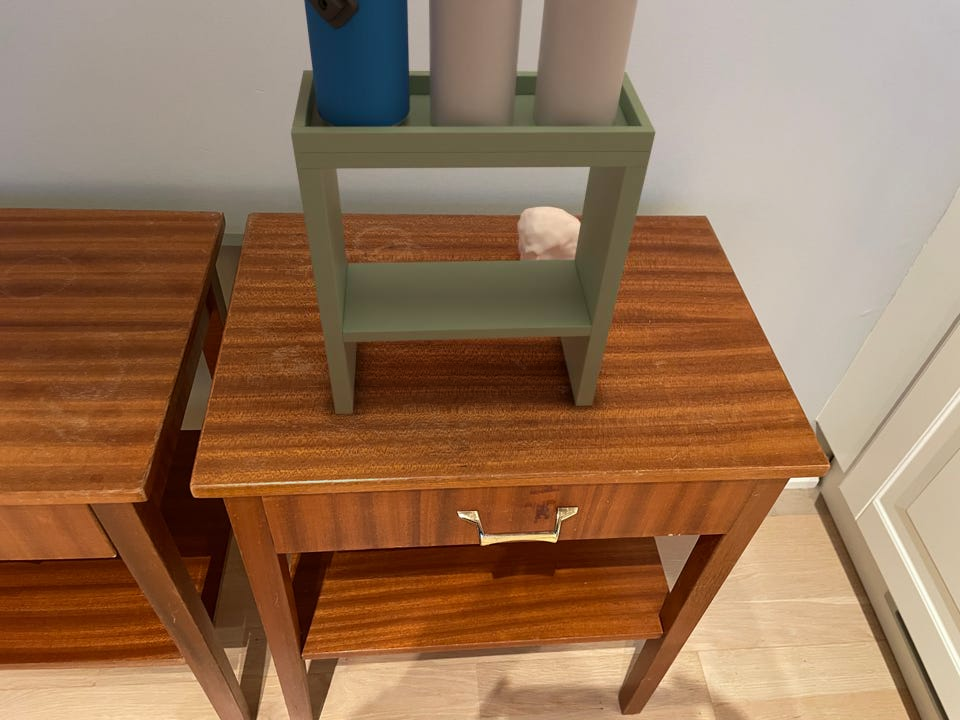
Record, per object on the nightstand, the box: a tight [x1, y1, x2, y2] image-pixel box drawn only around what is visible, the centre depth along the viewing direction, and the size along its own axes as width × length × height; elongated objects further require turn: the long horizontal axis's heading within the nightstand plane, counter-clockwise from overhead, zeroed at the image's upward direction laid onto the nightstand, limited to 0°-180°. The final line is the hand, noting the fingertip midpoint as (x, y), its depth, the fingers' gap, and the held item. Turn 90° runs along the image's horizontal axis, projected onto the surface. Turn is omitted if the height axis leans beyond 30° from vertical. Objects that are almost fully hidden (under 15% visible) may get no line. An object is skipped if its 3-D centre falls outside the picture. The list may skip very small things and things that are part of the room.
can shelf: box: [290, 0, 656, 170], centre depth 49 cm, size 24×9×13 cm, turn 94°
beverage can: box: [303, 0, 410, 127], centre depth 48 cm, size 6×6×12 cm
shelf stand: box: [296, 166, 648, 415], centre depth 63 cm, size 24×9×26 cm, turn 94°
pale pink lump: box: [516, 206, 581, 260], centre depth 81 cm, size 6×8×12 cm
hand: (378, 0), depth 46 cm, fingers closed on beverage can, 6 cm apart
